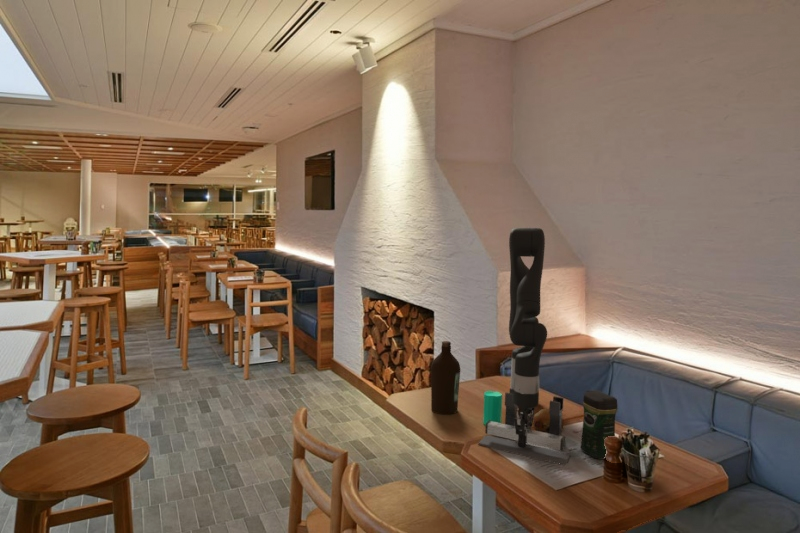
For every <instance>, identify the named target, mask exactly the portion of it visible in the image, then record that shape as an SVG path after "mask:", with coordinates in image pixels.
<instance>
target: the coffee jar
mask: <svg viewBox="0 0 800 533" xmlns="http://www.w3.org/2000/svg"><path fill="white" fill-rule="evenodd" d="M582 405H583V406H582V407H583V418H582V419H583V422H582V430H581V431H582V432H581V439H580V449H581V450H582V451H583V452H584V453H585V454H587V455H589V456H591V457H593V458H595V459H600V460H601V459H602V460H605V459H604V457H605V454H606V449H605V446H604V439H605V438H606V437H608V436H615V434H616V430H615V429H616V427H615V426H616V415H617V412H618V398H616V397H615V396H611V395H609V394H607V393H605V392H602V391H600V390H598V389H589V390H586V391H585V392H584V394H583V399H582ZM615 437H616V436H615Z"/></svg>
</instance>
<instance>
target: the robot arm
mask: <svg viewBox="0 0 800 533" xmlns="http://www.w3.org/2000/svg"><path fill="white" fill-rule="evenodd" d="M508 237H509V238H508V239H509V240H508V241H509V242H508V247H509V261H510V264H509V265H510V279H509V297H510V298H509V299H510V301H509V304H510V306H509V307H510V310H509V311H510V312H509V320H508V323H509V324H508V334H509V338H510V341H511V343H512V344H513V345H515V346H519V347H516V348H513V350H512V351H511V362H510V364H511V366H510V368H511V370H510V388H511V389H513V403H514V404H515V405H517V406H518V410H517V418H515V420H514V421H515V430H516V434H517V435H518V441H517V442H518V446H519V447H523V448H525V447H526V444H527V443H526V435H527V429H530V430H532V427H533V426H534V424H533V418H534V415H535V411H536V407H537V406H538V405H539V400H540V361H541V357H542V356H541V355H542V353H543V352H542V351H543V349H544V347H545V344H546V342H547V338H548V330H547V328H546V326H545V324H544V323H542V322H539V319H538V316H540V313H541V284H542V278H543V270H544V260H545V259H544V258H545V247H546V238H545V232H544V229H542V228H540V227H539V228H538V227H517V228H512V229H511V231H510V233H509V236H508ZM522 257H523V258H524V257H530V258H533V260H532V264H531V266H530V267H528V266H527V265H526V263H525V262H524V261H523V259H522ZM520 430H522V431H520Z"/></svg>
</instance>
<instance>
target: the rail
mask: <svg viewBox="0 0 800 533" xmlns="http://www.w3.org/2000/svg"><path fill="white" fill-rule="evenodd" d="M520 431H522V430H520ZM484 434H486V435H490V436H494V437H498V438H503V439H507V440H512V441H516V442H518V435H517V434H516V430H515V426H511V425H507V424H505V423H503V422H501V423H497V422H492V421H490V420H489V421H488V422H487V423H486V425H485V430H484ZM565 443H566V436H564V435H561V436H558V435H553V434H549V433H544V432H540V431H538V430H536V429H535V430H534V429H531V430H530V429H527V435H526V444H529V445H534V446H538V447H543V448H547V449H551V450H556V451H560V452H563V450H564V448H566V447H565V446H566V444H565Z"/></svg>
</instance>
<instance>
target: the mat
mask: <svg viewBox="0 0 800 533" xmlns="http://www.w3.org/2000/svg"><path fill="white" fill-rule="evenodd" d="M478 445H479V446H481V447H482V446H483V447H487V448H491V449H495V450H500V451H504V452H507V453H512V454H516V455H521V456H524V457H528V458H532V459H537V460H541V461H544V462H545V461H546V462H549V461H550V463H553V462H555V463H554V464H557V463H558V465H561V464H564V465H563V466H566V465H567V464H568V462H569V459H570V458H569V457H571V453H568V452H563V451H560V450H556V449H552V448H547V447H543V446H538V445H534V444H530V443H526V447H525V448H523V447H519V446H518V441H517V440H512V439H508V438H503V437H499V436H495V435H490V434H486V435H484V436H483V437H482V439H481V440H480V441H479V442H478ZM559 463H560V464H559Z"/></svg>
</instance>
